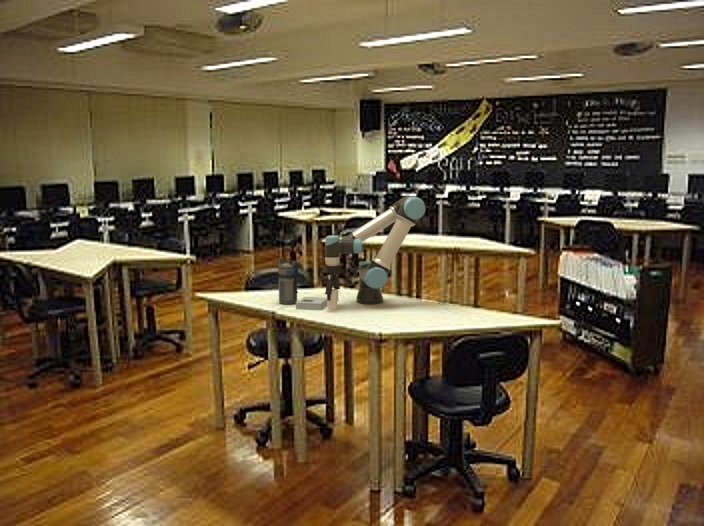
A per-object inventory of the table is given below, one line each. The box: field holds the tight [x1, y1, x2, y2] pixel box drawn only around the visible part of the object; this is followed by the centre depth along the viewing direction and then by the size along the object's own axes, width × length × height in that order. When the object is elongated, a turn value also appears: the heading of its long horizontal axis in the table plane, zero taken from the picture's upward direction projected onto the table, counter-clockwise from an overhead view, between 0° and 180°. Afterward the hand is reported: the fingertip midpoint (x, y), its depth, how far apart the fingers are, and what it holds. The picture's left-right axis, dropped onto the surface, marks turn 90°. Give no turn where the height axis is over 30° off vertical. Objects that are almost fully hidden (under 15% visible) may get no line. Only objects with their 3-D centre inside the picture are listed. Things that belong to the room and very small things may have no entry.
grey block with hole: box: [295, 296, 328, 311], centre depth 339 cm, size 14×16×4 cm
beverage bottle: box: [277, 257, 300, 305], centre depth 347 cm, size 10×13×25 cm
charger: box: [327, 288, 338, 310], centre depth 334 cm, size 4×4×10 cm
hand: (332, 303), depth 335 cm, fingers open, 13 cm apart
